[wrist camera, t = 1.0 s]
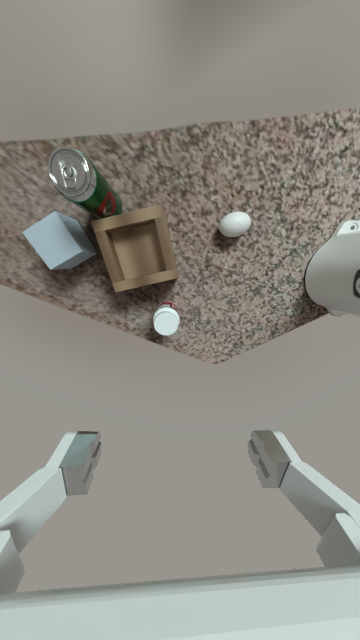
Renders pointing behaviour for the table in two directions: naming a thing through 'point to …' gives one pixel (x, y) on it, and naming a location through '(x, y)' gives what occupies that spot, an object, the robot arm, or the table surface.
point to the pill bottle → (166, 318)
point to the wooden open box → (136, 248)
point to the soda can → (82, 183)
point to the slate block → (60, 241)
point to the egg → (234, 224)
